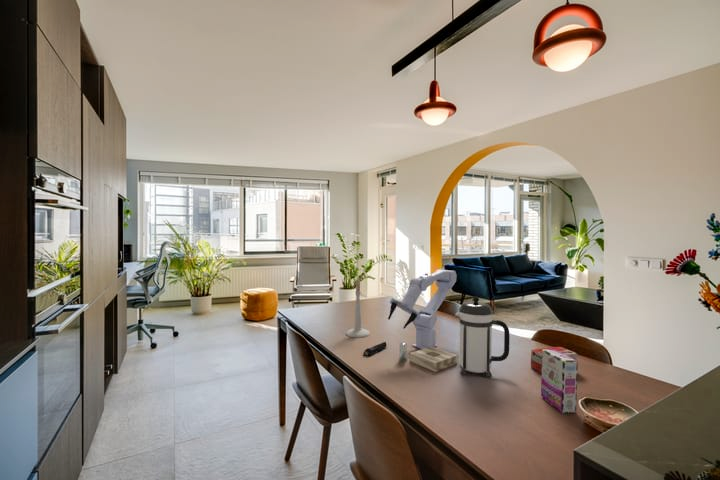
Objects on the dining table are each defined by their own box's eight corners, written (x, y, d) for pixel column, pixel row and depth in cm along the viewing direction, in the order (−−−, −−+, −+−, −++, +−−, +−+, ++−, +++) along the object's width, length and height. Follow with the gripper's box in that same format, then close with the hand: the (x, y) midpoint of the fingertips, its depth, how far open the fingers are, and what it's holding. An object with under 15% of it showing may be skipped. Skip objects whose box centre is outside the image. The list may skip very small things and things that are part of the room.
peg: (403, 357, 152) (403, 341, 151) (408, 359, 149) (408, 343, 149) (397, 359, 150) (398, 343, 149) (403, 361, 147) (403, 345, 147)
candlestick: (374, 333, 188) (374, 278, 187) (361, 339, 177) (361, 281, 176) (354, 329, 195) (354, 276, 194) (341, 335, 184) (341, 279, 183)
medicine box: (545, 376, 133) (546, 356, 133) (530, 368, 141) (530, 349, 140) (577, 372, 137) (577, 353, 136) (560, 365, 144) (560, 346, 144)
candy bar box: (577, 413, 106) (578, 360, 105) (562, 414, 105) (563, 361, 105) (554, 396, 117) (555, 348, 117) (540, 396, 117) (541, 348, 116)
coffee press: (477, 383, 126) (478, 302, 125) (447, 367, 140) (448, 294, 140) (510, 374, 134) (511, 298, 133) (478, 360, 148) (479, 291, 148)
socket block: (431, 353, 156) (431, 346, 156) (457, 363, 145) (457, 355, 145) (409, 361, 148) (409, 353, 147) (435, 371, 137) (435, 363, 136)
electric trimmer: (388, 348, 164) (388, 342, 164) (369, 357, 152) (369, 350, 152) (382, 347, 167) (382, 340, 167) (362, 355, 155) (362, 348, 155)
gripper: (397, 287, 156) (383, 311, 149) (426, 303, 152) (413, 328, 145) (395, 294, 162) (381, 317, 155) (422, 309, 158) (409, 334, 151)
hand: (396, 323), depth 150 cm, fingers open, 7 cm apart
